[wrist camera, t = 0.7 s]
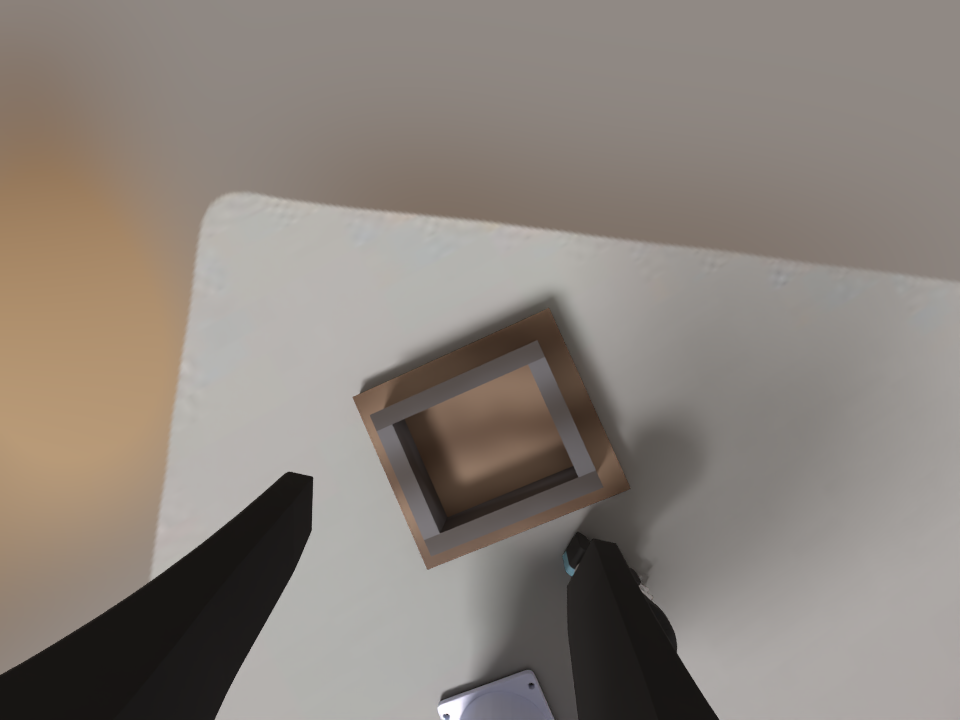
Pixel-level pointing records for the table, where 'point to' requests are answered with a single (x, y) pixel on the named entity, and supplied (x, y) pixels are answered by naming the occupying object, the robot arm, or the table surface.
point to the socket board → (490, 440)
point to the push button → (582, 543)
